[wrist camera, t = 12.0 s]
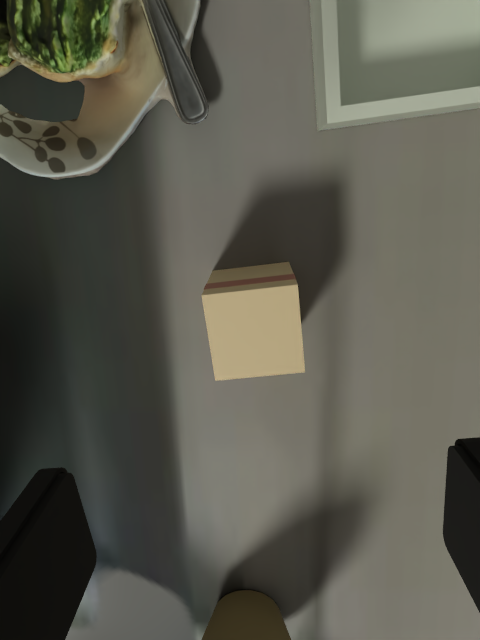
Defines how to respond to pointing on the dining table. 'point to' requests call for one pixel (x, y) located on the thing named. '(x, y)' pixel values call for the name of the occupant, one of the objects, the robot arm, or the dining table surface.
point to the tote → (393, 59)
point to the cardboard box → (254, 321)
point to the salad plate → (97, 75)
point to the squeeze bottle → (246, 618)
